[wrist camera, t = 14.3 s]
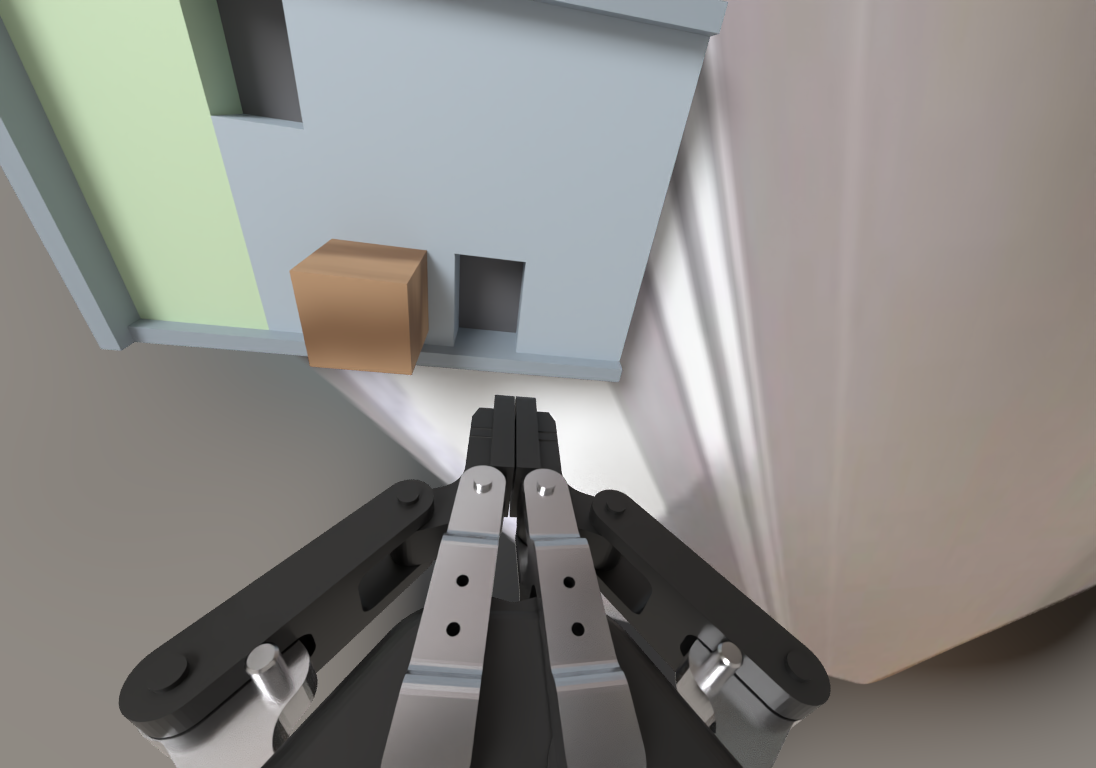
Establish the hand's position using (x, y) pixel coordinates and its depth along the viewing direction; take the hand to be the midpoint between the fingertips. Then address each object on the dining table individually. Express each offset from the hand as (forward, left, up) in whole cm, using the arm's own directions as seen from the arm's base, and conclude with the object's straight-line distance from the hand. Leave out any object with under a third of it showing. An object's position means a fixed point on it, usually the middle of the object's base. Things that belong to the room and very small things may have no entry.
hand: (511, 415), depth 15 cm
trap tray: (-5, -7, -14) cm, 17 cm away
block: (0, -8, -11) cm, 14 cm away
